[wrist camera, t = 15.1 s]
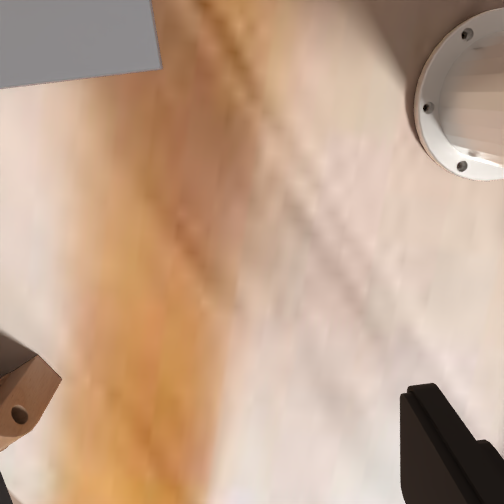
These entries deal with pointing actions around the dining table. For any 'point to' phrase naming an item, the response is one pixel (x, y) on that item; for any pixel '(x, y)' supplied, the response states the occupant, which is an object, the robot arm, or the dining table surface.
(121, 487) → the dining table surface
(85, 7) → the grey peg base
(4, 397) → the wooden toy
